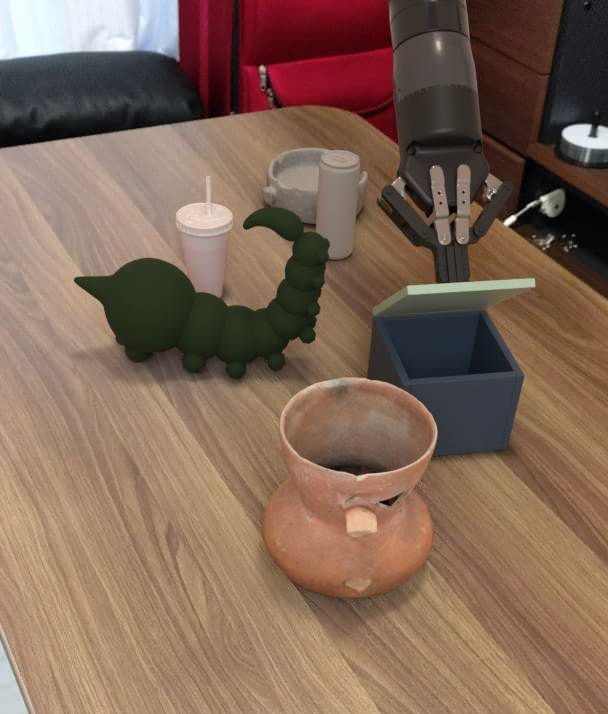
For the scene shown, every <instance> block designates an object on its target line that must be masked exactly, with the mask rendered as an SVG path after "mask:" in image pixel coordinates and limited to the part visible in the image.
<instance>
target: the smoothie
mask: <svg viewBox="0 0 608 714" xmlns="http://www.w3.org/2000/svg"><path fill="white" fill-rule="evenodd" d="M233 217H234V216H233V212H232V211H231V209H229V208H227V207H226V206H224V205H221V204H218V203H215V202H212V177H211V175H206V176H205V202H194V203H189V204H186V205H184V206H182V207H180V208H179V209H178V210H177V211H176V213H175V226H176V228H177V229H178V231H179V235H180V241H181V246H182V252H183V253H182V254H183V258H184V263H185V269H186V275H187V277H188V278H189V279H190V281H191V283H192V284H193V286H194V288H195V291H196V292H206V293H210V294H213V295H215V296H217V297H219V298H220V299H221V297H222V295H223V291H224V282H225V275H226V265H227V256H228V248H229V240H230V232H231V231H230V230H231V229H232V228H233V226H234V220H233V219H234V218H233Z"/></svg>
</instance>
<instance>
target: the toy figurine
mask: <svg viewBox="0 0 608 714" xmlns="http://www.w3.org/2000/svg"><path fill="white" fill-rule="evenodd" d="M255 227H263V228H267V229H270V230H271V231H273V232H275V233H276V235H278V236H279V237H280V238H282V239H283V240H285V241H288V242H293V244H292V246H291V253H292V255H291V256H290V257H289V258H288V259H287V261H286V263H285V267H284V277H283V279H282V280H281V281H280V282H279V284H278V287H277V289H276V294H275V297H274V298H272V300H270V301H269V303H268V305H267V306H266V307H261V308H257V309H256V310H255V309H252V308H250V307H248V306H245V305H241V304H233V305H227V303H226V302H225V301H224V300H223V299H222V298H221V297H220V298H219V297H217V296H215V295H213V294H210V293H206V292H196V291H195V288H194V286H193V284H192V283H191V281H190V279H189V278H188V275H187V273H185V272H184V271H183V270H182V269H181V268H179V267H178V266H176V265H175V264H173V263H171V262H169V261H166V260H163V259H161V258H157V257H142V258H136V259H133V260H131V261H129V262H127V263H125V264H123V265H122V266H121V267H119V268H118V269H117V270H115V272H114V273H112V274H110V275H87V276H83V275H82V276H75V277H74V278H73V283H75V284H76V285H77V286H78V287H79V288H81V289H82V290H83V291H85V293H88V294H89V295H90V296H92V297H93V298H94V299H95V300H97V301H98V302H99V303H100V304H101V305H102V307H103V311H104V316H105V319H106V321H107V324H108V326H109V328H110V330H111V332H112V333H113V334H114V339H115V342H116V343H117V344H118V345H120V346H122V347H123V348H124V353H125V356H126V357H127V358H128V359H129V360H130V361H132V362H134V363H144V362H146V361H147V360H150V359H152V357H153V355H154V353H156V354H157V353H163V352H167V351H170V350H172V349H174V348H176V349H177V350H178V351H179V352H180V353H181V354H182V355H181V364H182V367H183V369H184V370H186V371H187V372H190V374H199V373H201V372H202V371H203V370H204V369H205V368H206V367H207V363H208V361H207V360H208V359H213V358H215V357H216V358H217V359H219V360H220V361H221V362H222V363H226V364H227V365H226V368H225V371H226V373H227V374H228V376H229V377H230V378H233V379H239V378H242V377H243V376H245V373H246V370H247V364H250V363H252V362H254V361H255V360H257V359H258V358H262V359H265V360H266V361H265V362H266V365H267V368H268V369H270V370H272V371H274V372H276V371H280V370H283V368H284V367H285V365H286V358H285V354H284V353H283V351H284V350H285V349H286V348H287V347H288V344H289V342H290V341H295V340H297V339H298V338H299V340H300V341H301V343H302V344H307V345H310V344H312V343H313V342H315V341H316V338H317V333H316V331H315V328H316V325H317V322H318V318H317V316H318V315H320V314H321V310H322V308H321V305H320V303H319V302H318V301H319V299H320V298H321V295H322V293H323V292H322V291H323V289H322V288H323V287H324V285H325V283H326V280H325V273H326V270H327V265H326V263H327V262H328V261H329V259H328V258H329V254H328V249H329V247H330V242H329V241H328V239H327V238H323V237H322V236H321V235H320V234H318V233H316V231H311V230H310V231H305V228H304V222H302V221H301V219H300V217H299V216H298V215H296V214H295V213H294V212H292V211H290V210H287V209H285V208H280V207H271V206H264V207H261V208H259V209H257V210H255V211H253V212H251V214H249V215H248V216H247V217H246V218H245V219H244V221H243V222H242V228H243V229H244V230H245V231H248V230H251V229H253V228H255Z"/></svg>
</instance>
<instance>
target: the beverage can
mask: <svg viewBox="0 0 608 714" xmlns="http://www.w3.org/2000/svg"><path fill="white" fill-rule="evenodd" d="M360 172H361V163H360V157H359V155H358V154H356V153H355V152H351V151H349V150H343V149H334V150H331V151H328V152H325V153H323V154H322V156H321V160H320V163H319V180H318V199H317V218H316V224H315V232H316V233H318V234H320V235H321V236H322V237H323V238H327V239H328V241H329V242H330V247H329V249H328V254H329V258H328V260H330V261H331V260H332V261H339V260H344V259H346V258H348V257H350V255H351V254H352V253H353V252H354V245H355V232H356V223H357V222H356V221H357V215H356V210H357V198H358V186H359V176H360V175H361V174H360Z"/></svg>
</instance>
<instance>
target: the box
mask: <svg viewBox="0 0 608 714" xmlns="http://www.w3.org/2000/svg"><path fill="white" fill-rule="evenodd" d="M371 325H372V326H371V336H370V345H369V351H368V352H369V353H368V363H367V372H366V379H369V380H377V381H382V382H386V383H389V384H392V385H394V386H396V387H398V388H400V389H403V390H404V391H406V392H407V393H409V394H411V395H412V396H414V397H415V398H416V399H417V400H418V401H420V402H421V403H422V404H423V405H424V406H425V407H426V408H427V410H428V411H429V412H430V413H431V415H432V416H433V418H434V421H435V423H436V426H437V441H436V445H435V448H434V451H433V454H432V457H441V456H442V457H443V456H455V455H462V454H473V453H474V454H475V453H485V452H496V451H497V452H498V451H507V450H508V447H509V442H510V438H511V434H512V430H513V426H514V422H515V417H516V414H517V409H518V405H519V401H520V396H521V392H522V389H523V384H524V380H525V376H526V375H525V374H524V372H523V370H522V368H521V366H520V365H519V364H518V362H517V360H516V358H515V356H514V355H513V353H512V352H511V350H510V349H509V347H508V345H507V343H506V341H505V340H504V338H503V336H502V335H501V333H500V331H499V330H498V328H497V326H496V325H495V323H494V321H493V320H492V318H491V316H490V315H489V313H488V311H487V309H476V310H460V311H445V312H429V313H414V314H398V315H383V316H374V315H373V316H372V324H371Z"/></svg>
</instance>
